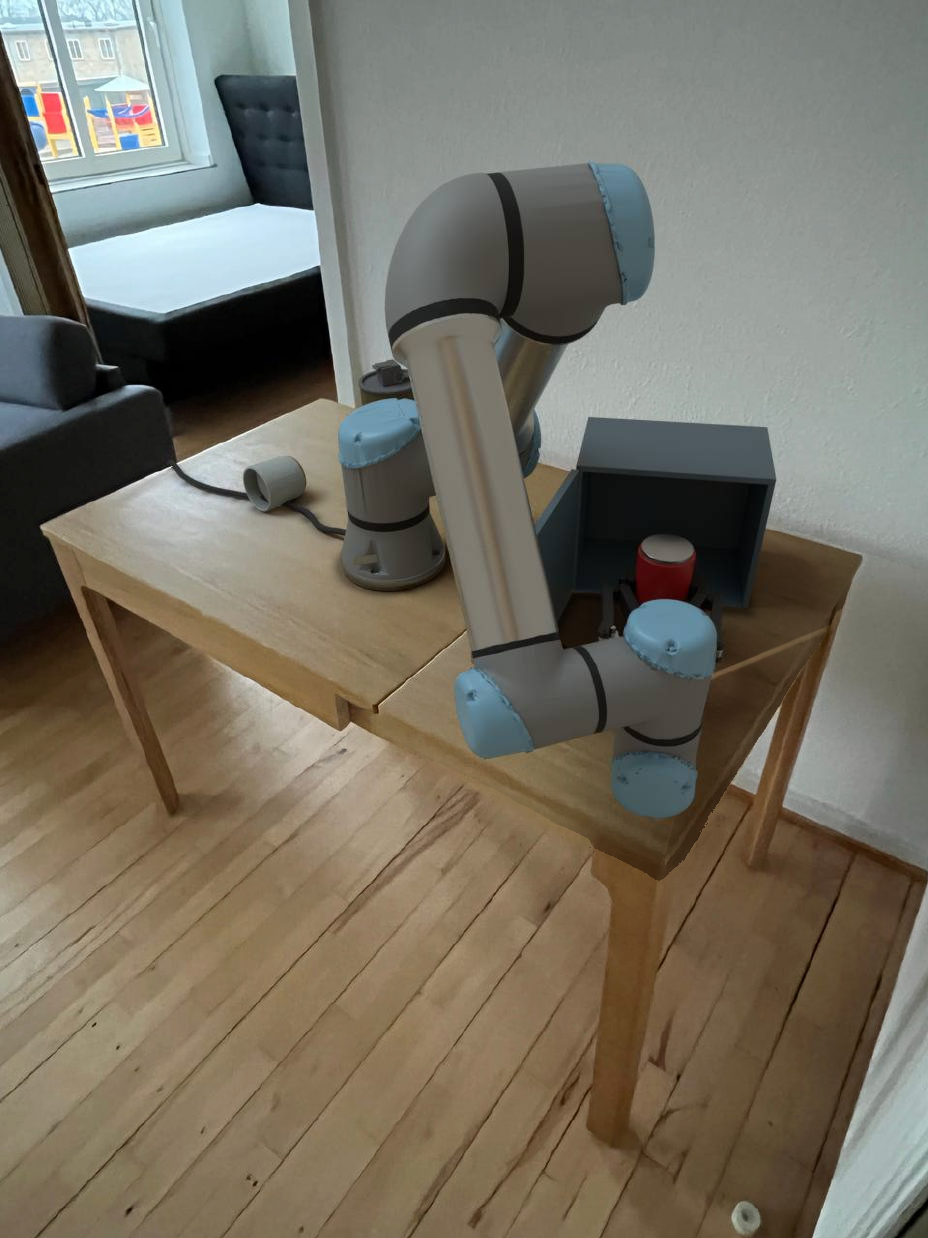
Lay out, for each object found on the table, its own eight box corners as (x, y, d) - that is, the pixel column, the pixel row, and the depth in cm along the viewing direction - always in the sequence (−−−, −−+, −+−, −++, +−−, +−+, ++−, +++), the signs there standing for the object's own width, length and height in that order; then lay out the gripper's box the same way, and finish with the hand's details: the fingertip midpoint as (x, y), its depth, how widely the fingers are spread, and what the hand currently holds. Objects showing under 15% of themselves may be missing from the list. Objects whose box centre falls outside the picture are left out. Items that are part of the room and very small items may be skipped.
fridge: (747, 612, 108) (776, 479, 96) (569, 594, 112) (576, 465, 100) (741, 552, 119) (767, 426, 107) (580, 538, 124) (588, 416, 112)
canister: (380, 495, 137) (368, 379, 125) (361, 470, 144) (347, 358, 132) (440, 481, 140) (433, 367, 128) (417, 457, 148) (409, 347, 136)
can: (618, 624, 103) (627, 541, 95) (660, 608, 105) (671, 527, 98) (651, 652, 98) (662, 568, 91) (694, 636, 100) (708, 552, 93)
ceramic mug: (313, 498, 136) (305, 456, 132) (273, 517, 132) (264, 474, 127) (274, 481, 142) (266, 440, 138) (235, 499, 138) (225, 457, 133)
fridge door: (464, 696, 96) (458, 559, 84) (529, 588, 113) (531, 462, 102) (513, 709, 94) (514, 570, 82) (571, 597, 111) (579, 469, 100)
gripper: (561, 699, 88) (583, 580, 106) (749, 722, 84) (739, 595, 102) (563, 645, 83) (586, 530, 101) (763, 667, 79) (750, 544, 97)
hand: (663, 563), depth 101 cm, fingers closed on can, 7 cm apart
